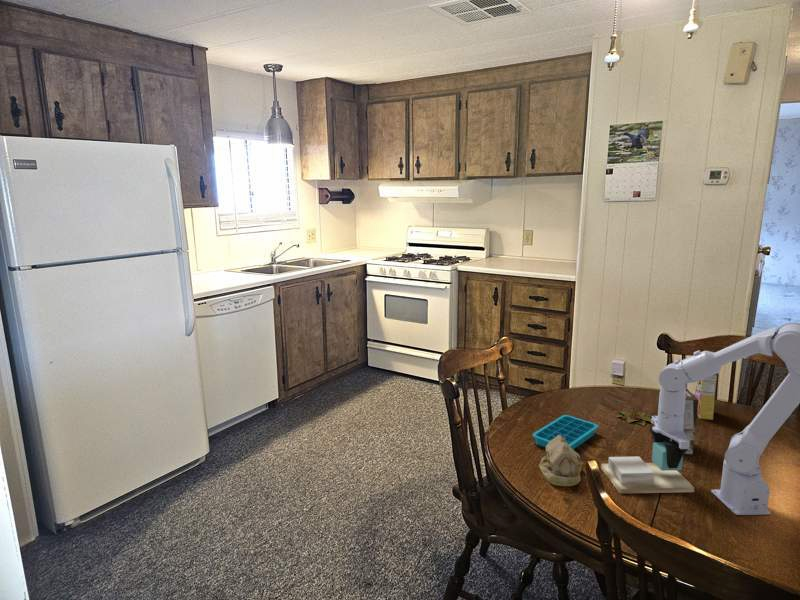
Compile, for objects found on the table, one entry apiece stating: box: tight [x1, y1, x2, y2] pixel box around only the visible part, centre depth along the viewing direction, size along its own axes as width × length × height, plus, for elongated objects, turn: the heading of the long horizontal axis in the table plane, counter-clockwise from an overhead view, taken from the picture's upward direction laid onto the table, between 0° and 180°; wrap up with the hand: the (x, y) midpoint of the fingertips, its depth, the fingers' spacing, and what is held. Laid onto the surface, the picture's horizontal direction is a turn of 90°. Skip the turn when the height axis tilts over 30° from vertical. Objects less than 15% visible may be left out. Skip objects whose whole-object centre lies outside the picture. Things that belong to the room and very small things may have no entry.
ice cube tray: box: [532, 414, 599, 451], centre depth 151 cm, size 12×20×3 cm, turn 134°
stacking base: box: [600, 455, 695, 494], centre depth 128 cm, size 12×18×4 cm, turn 90°
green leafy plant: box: [617, 404, 651, 427], centre depth 164 cm, size 12×12×5 cm
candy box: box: [694, 374, 718, 421], centre depth 164 cm, size 9×4×15 cm, turn 160°
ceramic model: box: [538, 435, 582, 487], centre depth 132 cm, size 14×11×10 cm
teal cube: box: [651, 442, 684, 471], centre depth 127 cm, size 5×5×5 cm
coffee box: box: [670, 388, 699, 455], centre depth 144 cm, size 9×6×16 cm
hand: (666, 461), depth 128 cm, fingers closed on teal cube, 5 cm apart
